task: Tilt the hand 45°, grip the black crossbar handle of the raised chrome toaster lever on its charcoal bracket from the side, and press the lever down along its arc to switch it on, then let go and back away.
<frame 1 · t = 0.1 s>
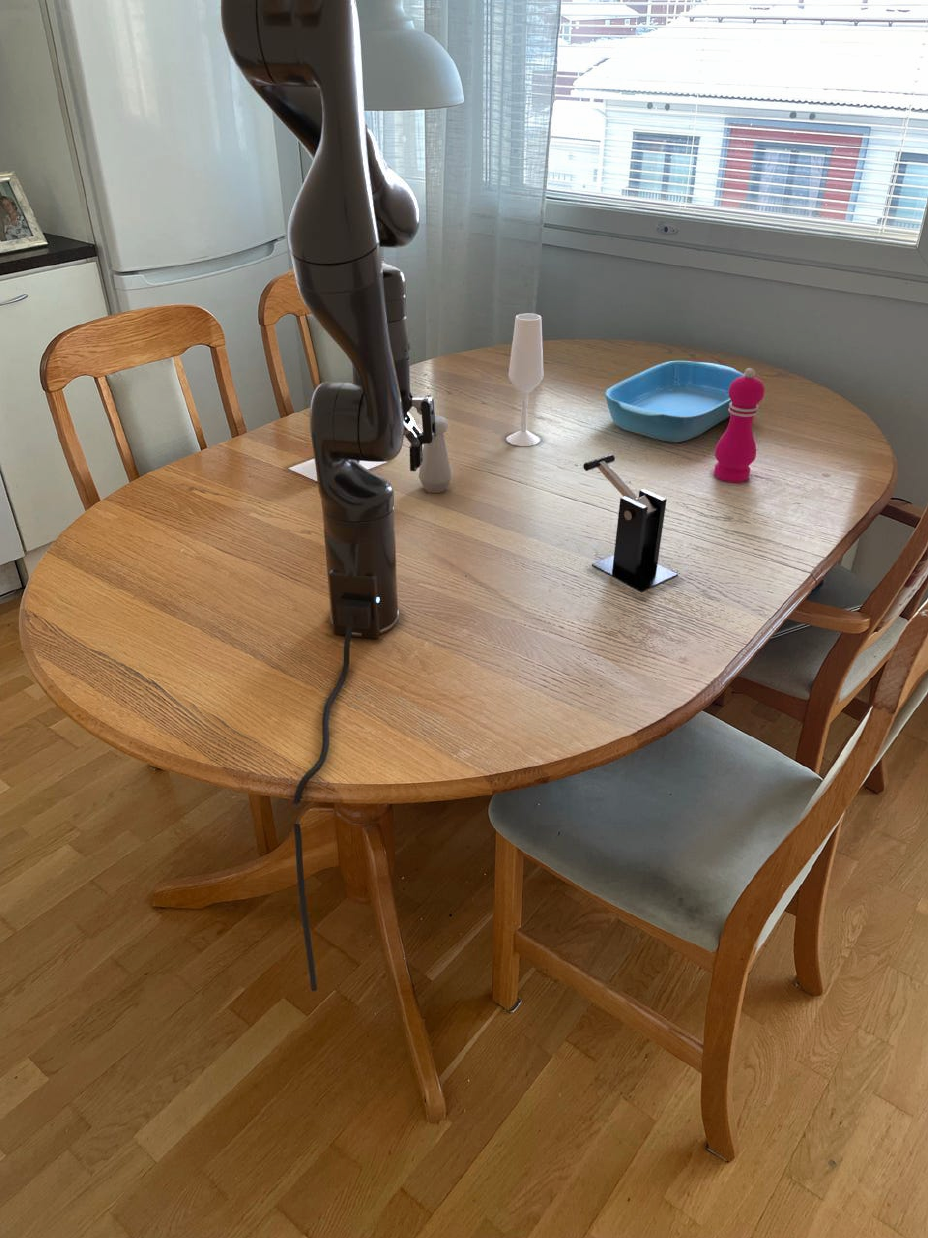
hand: (385, 466, 129), 17 cm above the table, tool pointing down, fingers open, 8 cm apart
casserole dish: (676, 418, 194), on the table
pepper mill: (731, 476, 169), on the table
salt shaker: (435, 489, 164), on the table
napkin holder: (338, 466, 172), on the table
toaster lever: (622, 487, 134), point 13 cm above the table, hinge at 25.0°
toaster bracket: (633, 576, 138), on the table
champagne flute: (523, 440, 183), on the table
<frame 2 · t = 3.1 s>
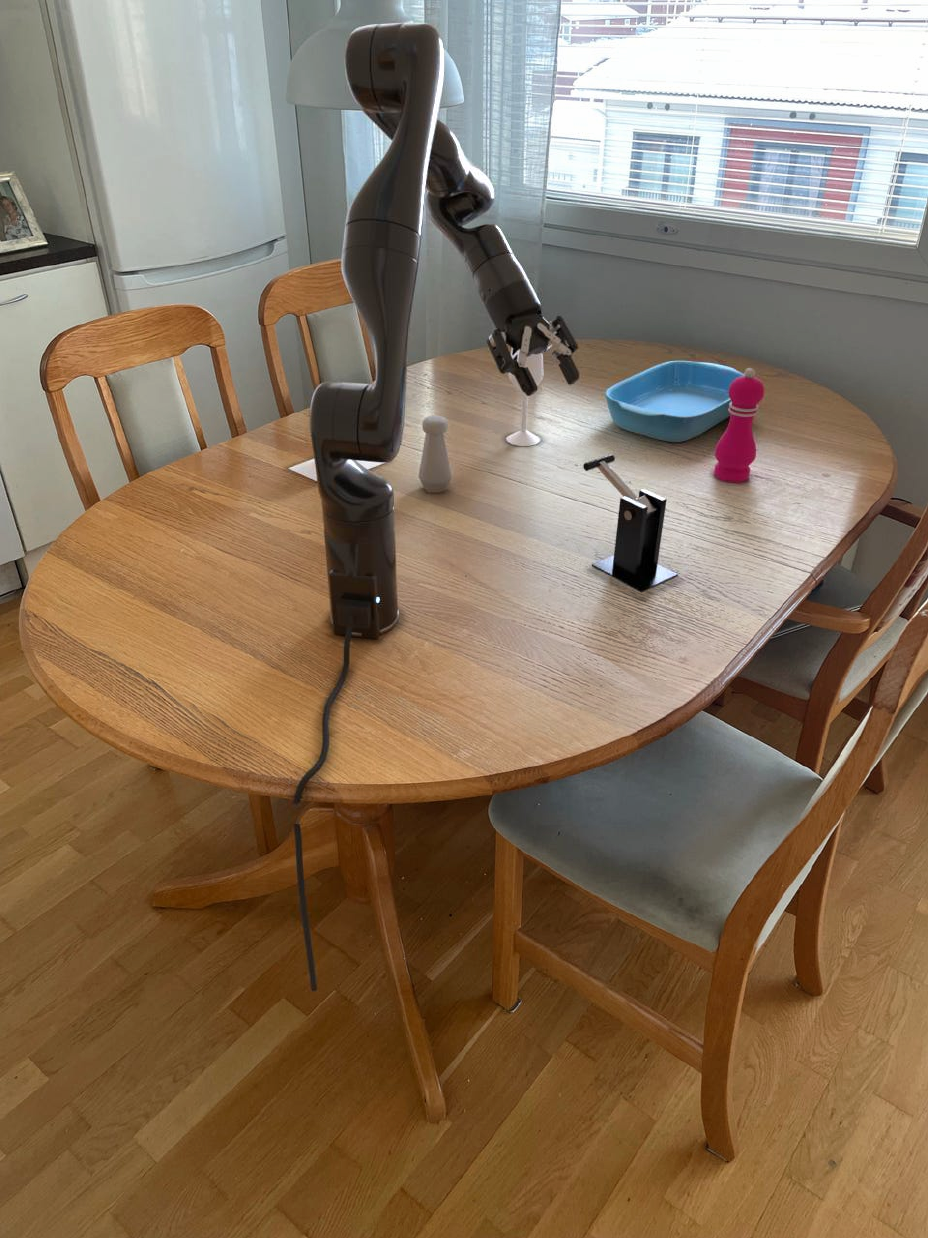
hand: (554, 387, 138), 24 cm above the table, tool tilted 45°, fingers open, 8 cm apart
nothing on the table moved.
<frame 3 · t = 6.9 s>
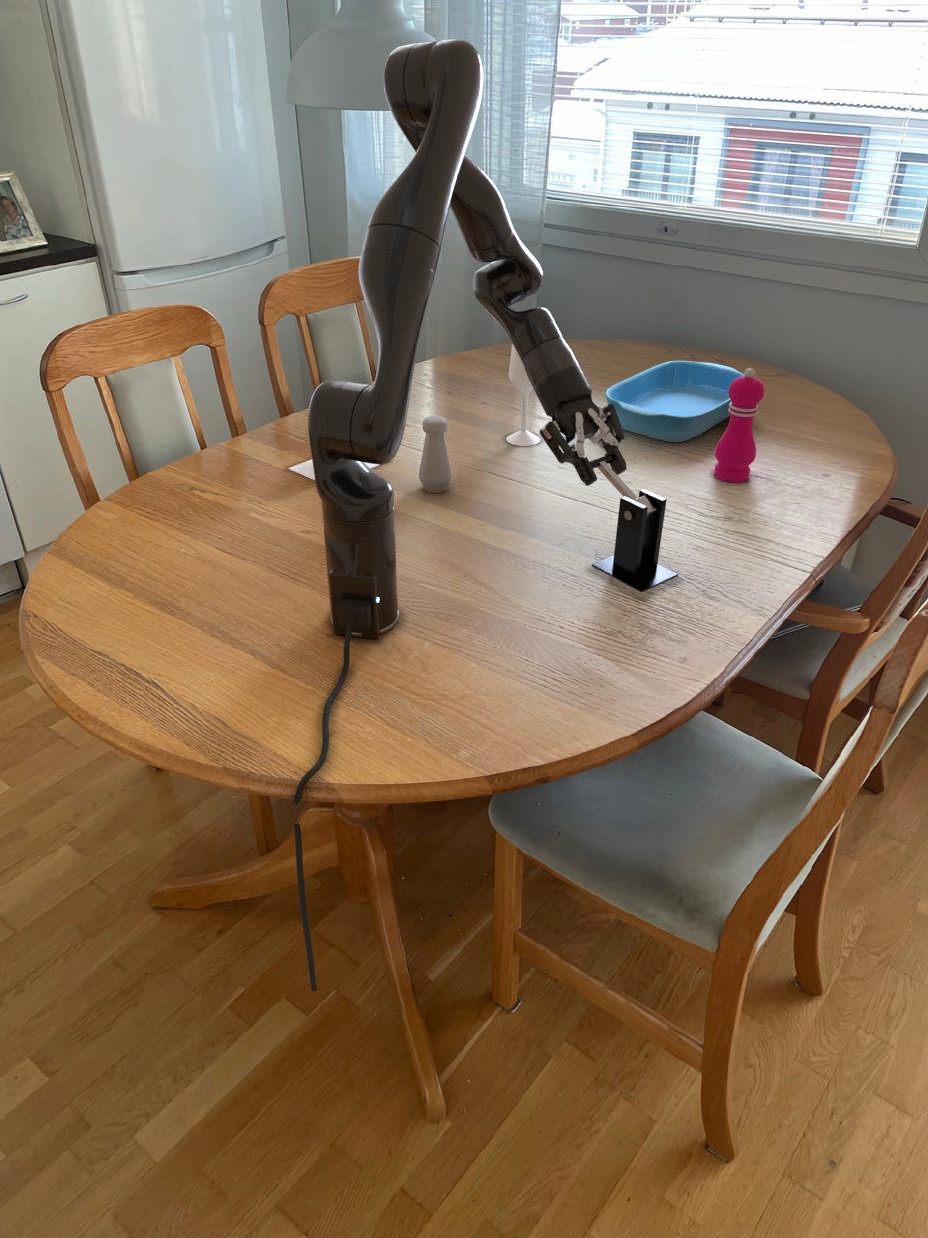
hand: (606, 477, 136), 13 cm above the table, tool tilted 45°, fingers closed on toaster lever, 5 cm apart
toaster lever: (622, 487, 134), point 13 cm above the table, hinge at 25.0°, touching gripper
everything else where it was.
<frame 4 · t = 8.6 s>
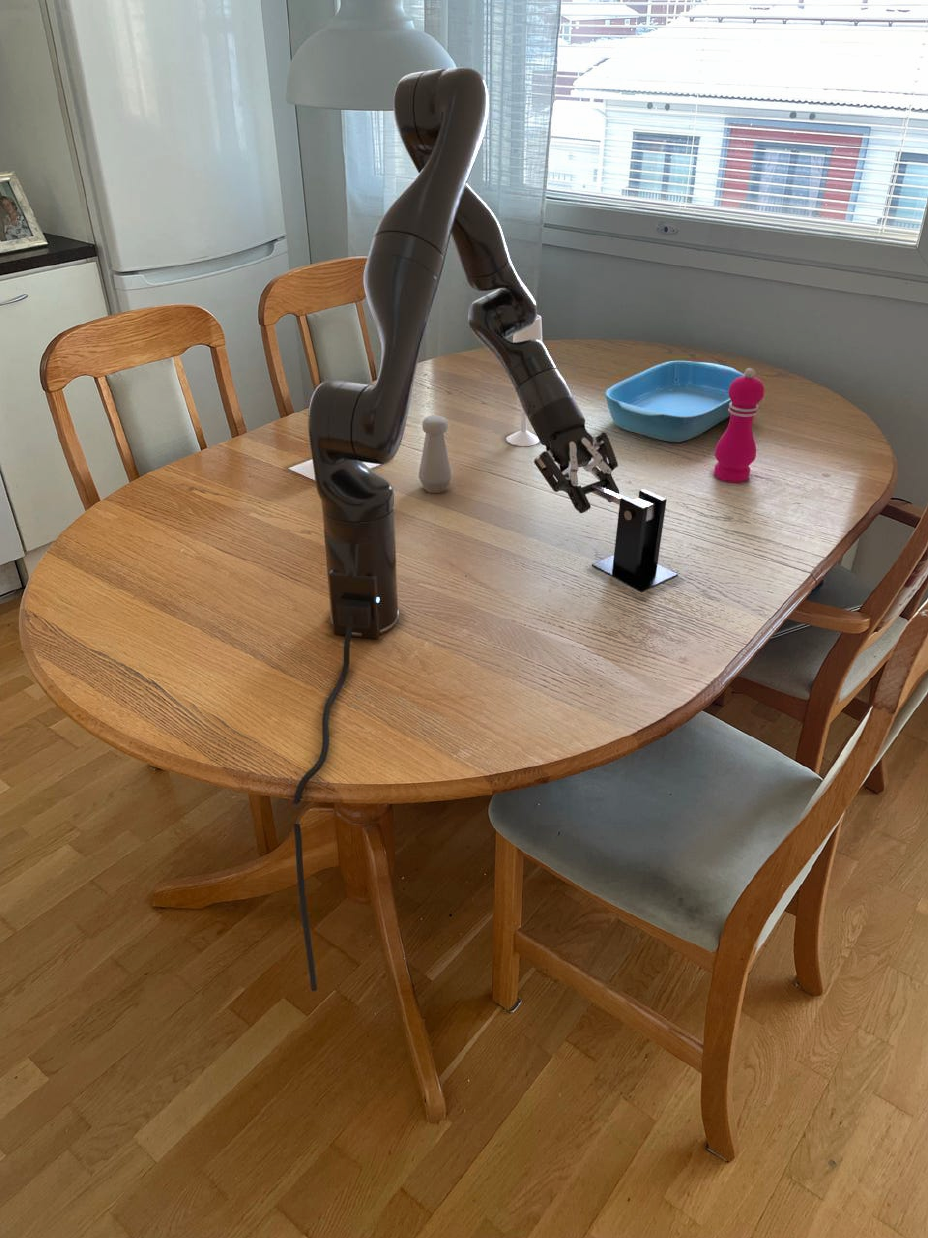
hand: (600, 504, 139), 9 cm above the table, tool tilted 45°, fingers closed on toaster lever, 5 cm apart
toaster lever: (618, 499, 135), point 11 cm above the table, hinge at -1.2°, touching gripper
everything else where it was.
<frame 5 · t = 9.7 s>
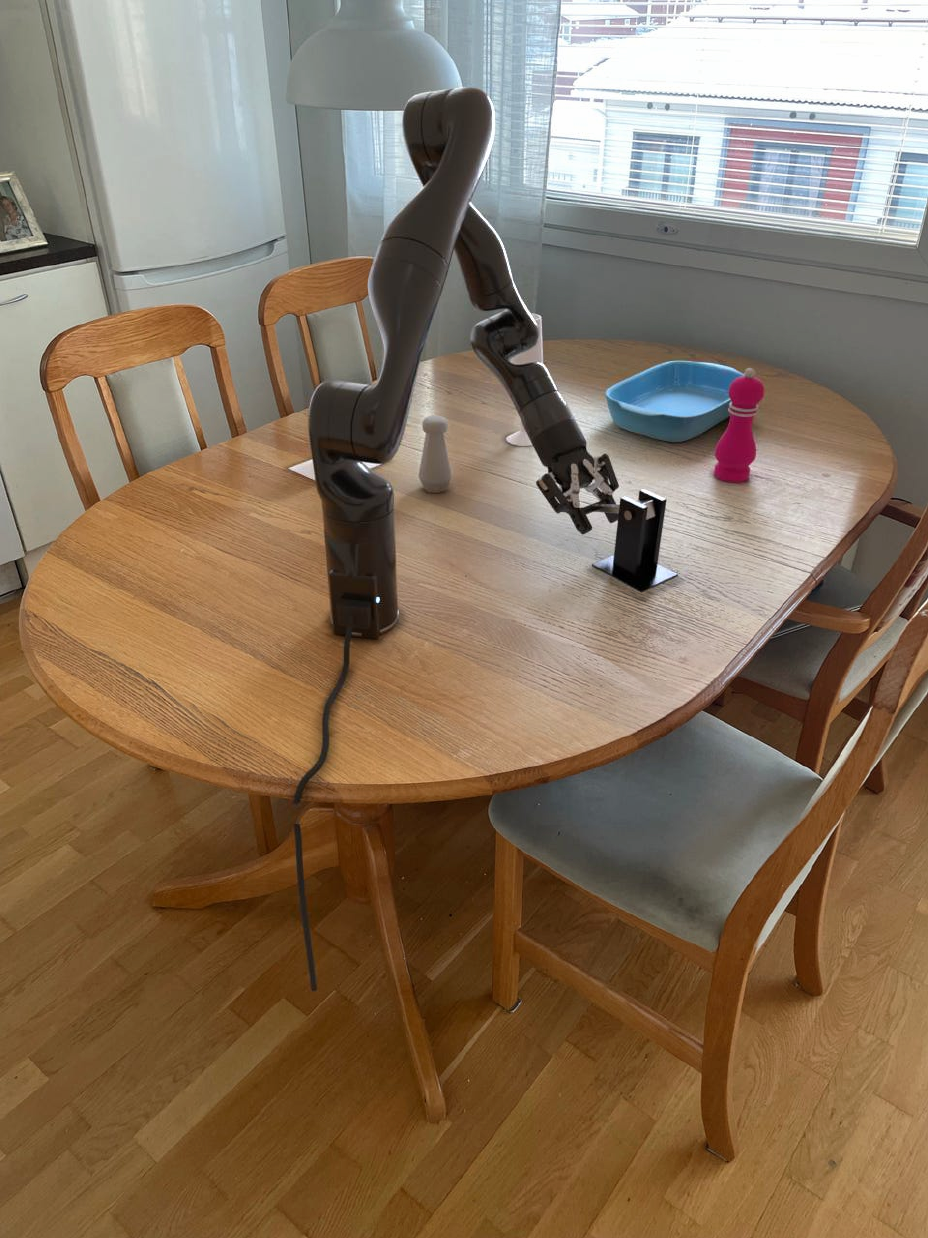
hand: (601, 525, 140), 5 cm above the table, tool tilted 45°, fingers closed on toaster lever, 5 cm apart
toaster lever: (618, 508, 136), point 9 cm above the table, hinge at -19.4°, touching gripper
everything else where it was.
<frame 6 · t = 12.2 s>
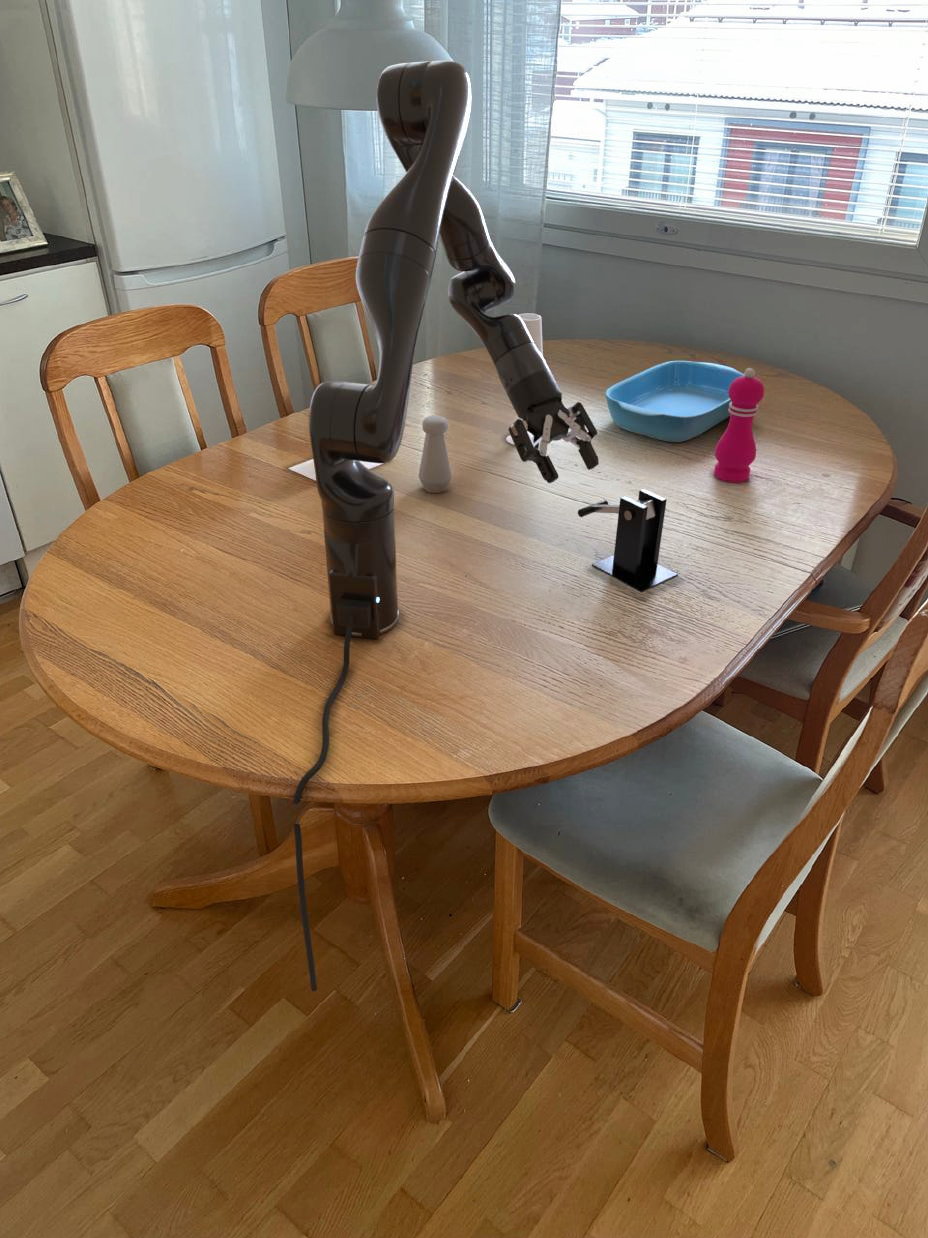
hand: (574, 473, 141), 12 cm above the table, tool tilted 45°, fingers open, 8 cm apart
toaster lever: (618, 509, 136), point 9 cm above the table, hinge at -20.0°
everything else where it was.
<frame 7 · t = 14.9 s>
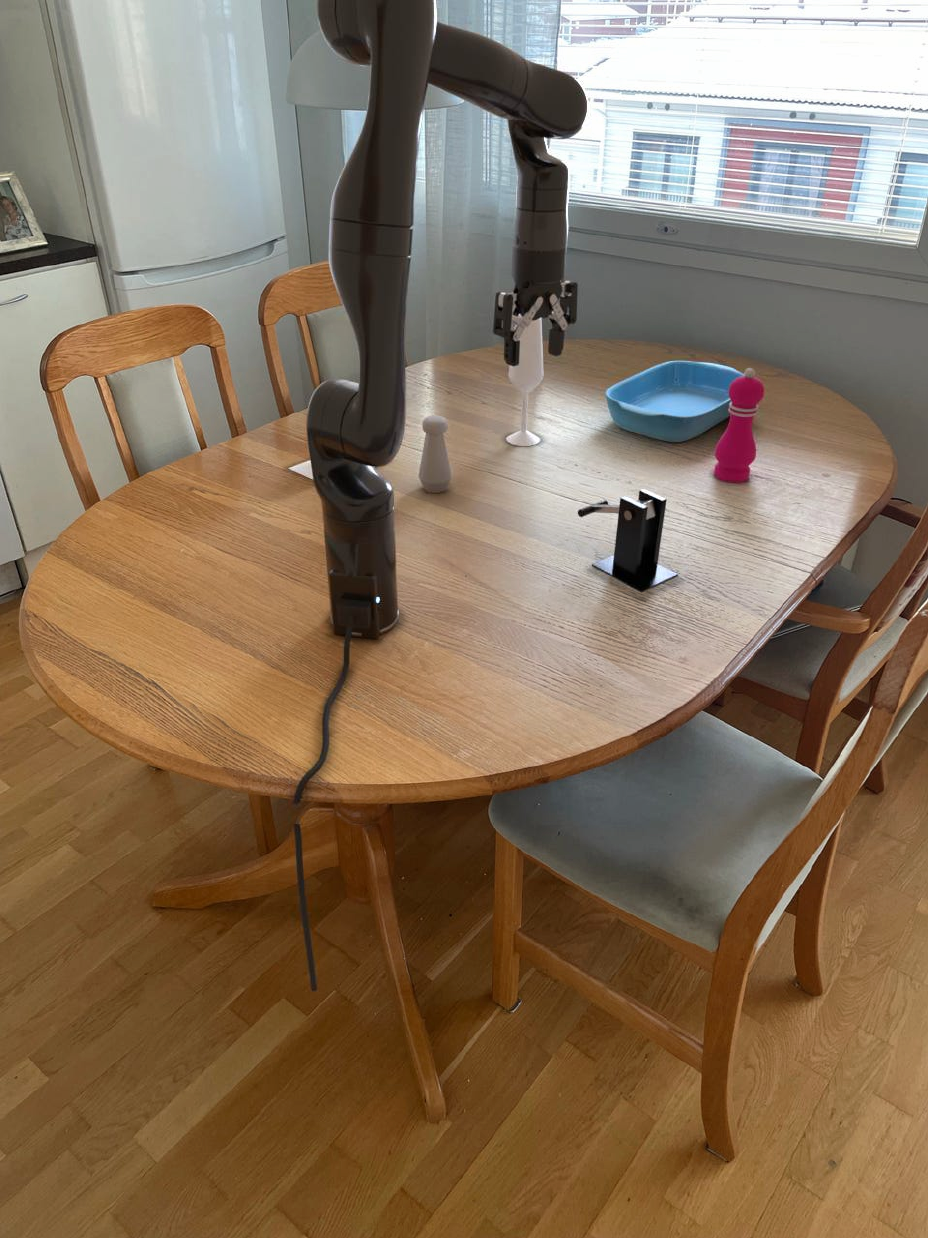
hand: (533, 359, 136), 28 cm above the table, tool pointing down, fingers open, 8 cm apart
nothing on the table moved.
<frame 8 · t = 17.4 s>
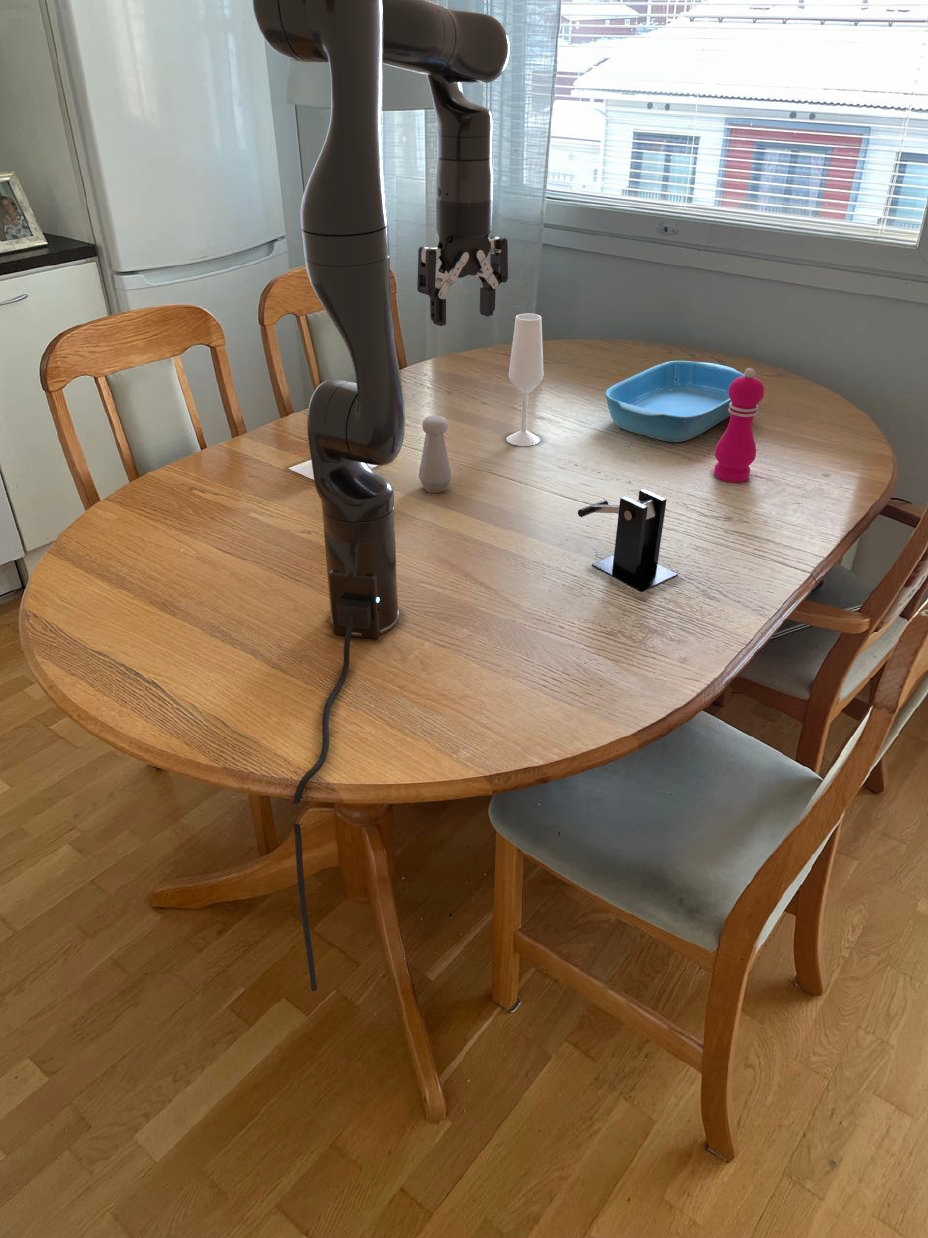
hand: (463, 319, 131), 34 cm above the table, tool pointing down, fingers open, 8 cm apart
nothing on the table moved.
at the end: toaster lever at -20° (first picture: +25°); the gripper is holding nothing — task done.
